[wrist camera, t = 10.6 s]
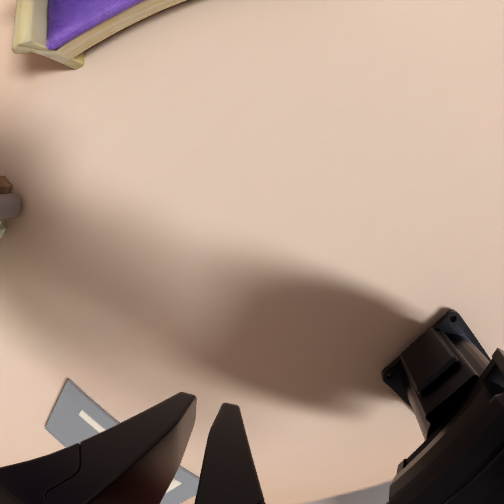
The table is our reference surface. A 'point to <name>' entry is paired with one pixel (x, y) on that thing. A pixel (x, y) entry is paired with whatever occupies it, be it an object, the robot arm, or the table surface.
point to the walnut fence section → (5, 185)
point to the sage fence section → (8, 208)
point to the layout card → (97, 420)
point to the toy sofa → (75, 25)
